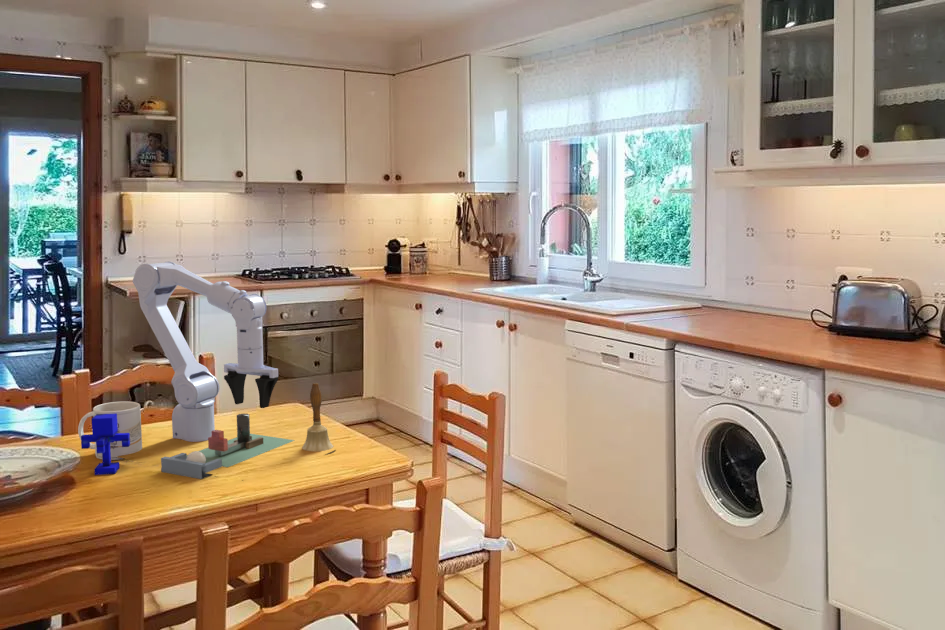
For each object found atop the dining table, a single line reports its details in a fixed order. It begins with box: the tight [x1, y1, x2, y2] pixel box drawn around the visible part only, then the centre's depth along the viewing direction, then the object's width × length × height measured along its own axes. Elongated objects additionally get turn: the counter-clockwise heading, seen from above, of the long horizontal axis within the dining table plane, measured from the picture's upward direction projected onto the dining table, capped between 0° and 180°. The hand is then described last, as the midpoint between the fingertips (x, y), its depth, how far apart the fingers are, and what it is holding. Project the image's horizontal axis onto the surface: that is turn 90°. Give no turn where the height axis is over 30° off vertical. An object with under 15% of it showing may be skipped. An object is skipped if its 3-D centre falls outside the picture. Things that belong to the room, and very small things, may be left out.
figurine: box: [80, 413, 130, 476], centre depth 177 cm, size 8×8×12 cm
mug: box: [77, 400, 143, 461], centre depth 190 cm, size 10×12×11 cm
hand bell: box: [301, 382, 337, 456], centre depth 192 cm, size 8×8×16 cm
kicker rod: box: [207, 413, 251, 456], centre depth 189 cm, size 4×11×7 cm, turn 155°
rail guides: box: [234, 436, 263, 449], centre depth 194 cm, size 4×5×1 cm
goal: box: [160, 452, 223, 480], centre depth 178 cm, size 11×6×3 cm, turn 65°
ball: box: [186, 450, 206, 463], centre depth 179 cm, size 4×4×4 cm
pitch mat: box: [187, 433, 295, 468], centre depth 191 cm, size 14×23×1 cm, turn 155°
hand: (251, 405), depth 195 cm, fingers open, 7 cm apart
